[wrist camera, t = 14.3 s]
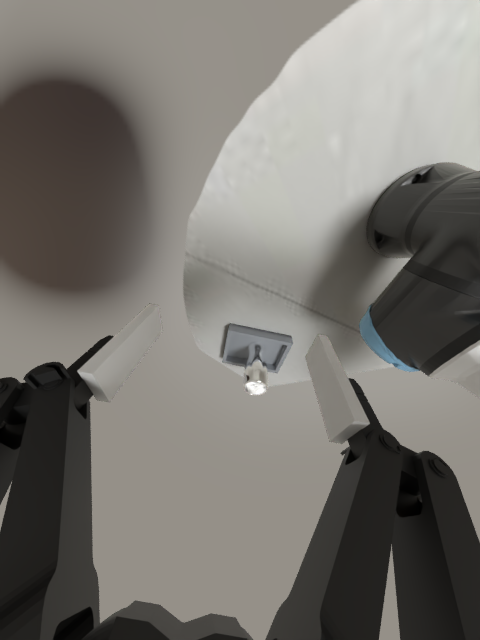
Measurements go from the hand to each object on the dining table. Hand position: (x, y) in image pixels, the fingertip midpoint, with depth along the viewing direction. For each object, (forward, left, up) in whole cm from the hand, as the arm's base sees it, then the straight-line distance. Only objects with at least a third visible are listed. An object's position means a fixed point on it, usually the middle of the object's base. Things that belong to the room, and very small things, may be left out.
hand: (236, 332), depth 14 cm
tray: (-8, +31, -31) cm, 45 cm away
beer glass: (-9, +31, -31) cm, 44 cm away
